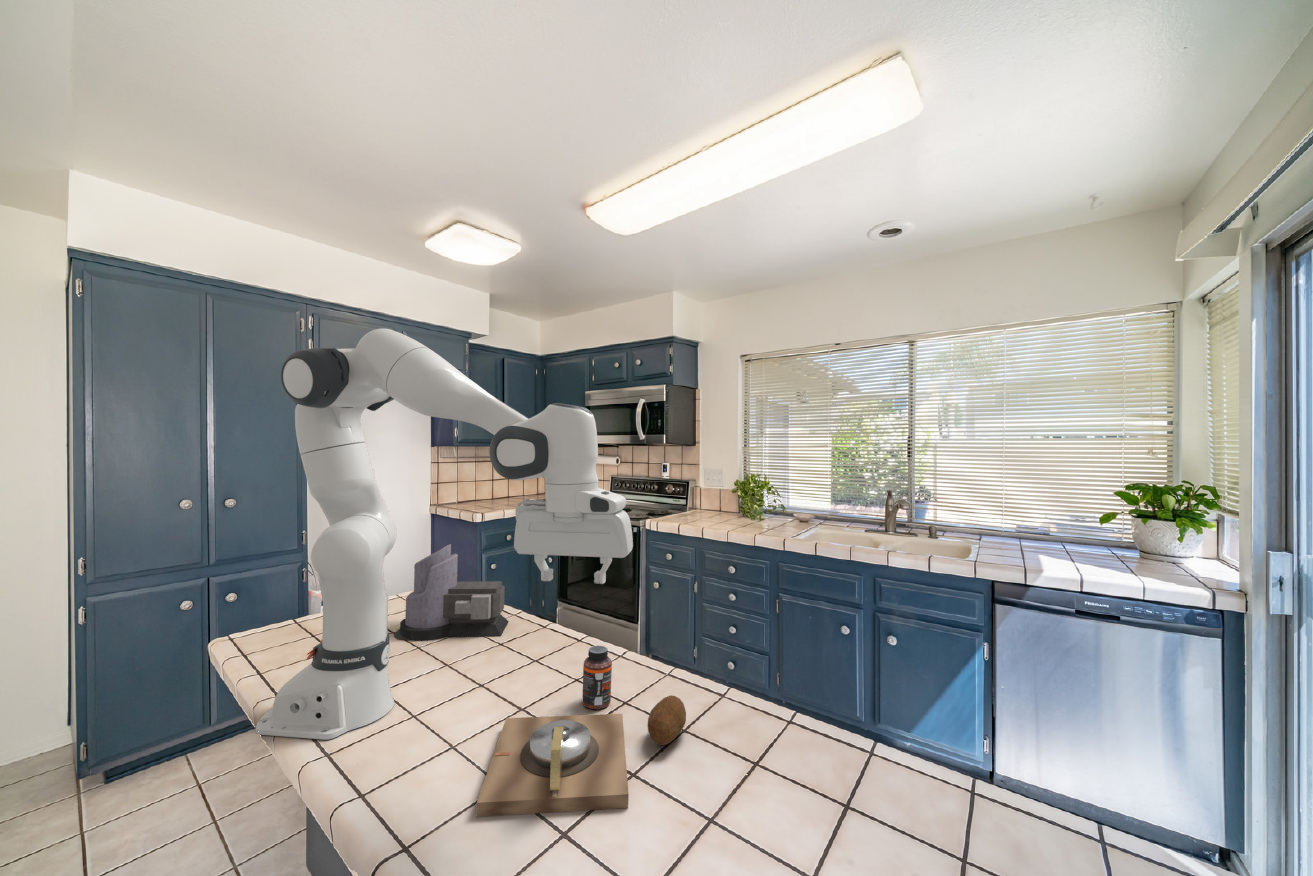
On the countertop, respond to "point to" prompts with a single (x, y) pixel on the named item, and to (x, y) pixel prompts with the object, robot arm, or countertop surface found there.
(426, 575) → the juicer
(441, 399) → the robot arm
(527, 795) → the panel
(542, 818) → the countertop surface
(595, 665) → the supplement bottle
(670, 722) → the potato
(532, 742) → the grey round gold-handled piece
